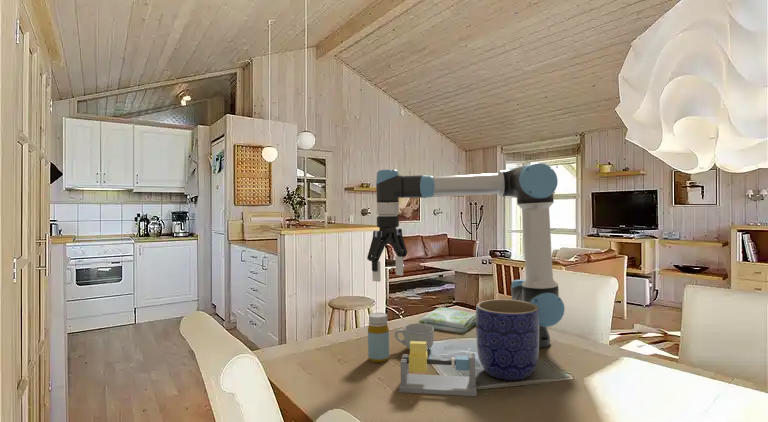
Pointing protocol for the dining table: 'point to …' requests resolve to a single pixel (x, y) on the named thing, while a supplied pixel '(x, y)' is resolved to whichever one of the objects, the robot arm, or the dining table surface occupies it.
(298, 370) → the dining table surface
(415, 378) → the grey u-shaped stand
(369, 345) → the bottle
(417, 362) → the sleeve
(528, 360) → the planter
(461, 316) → the towel
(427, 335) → the teacup
